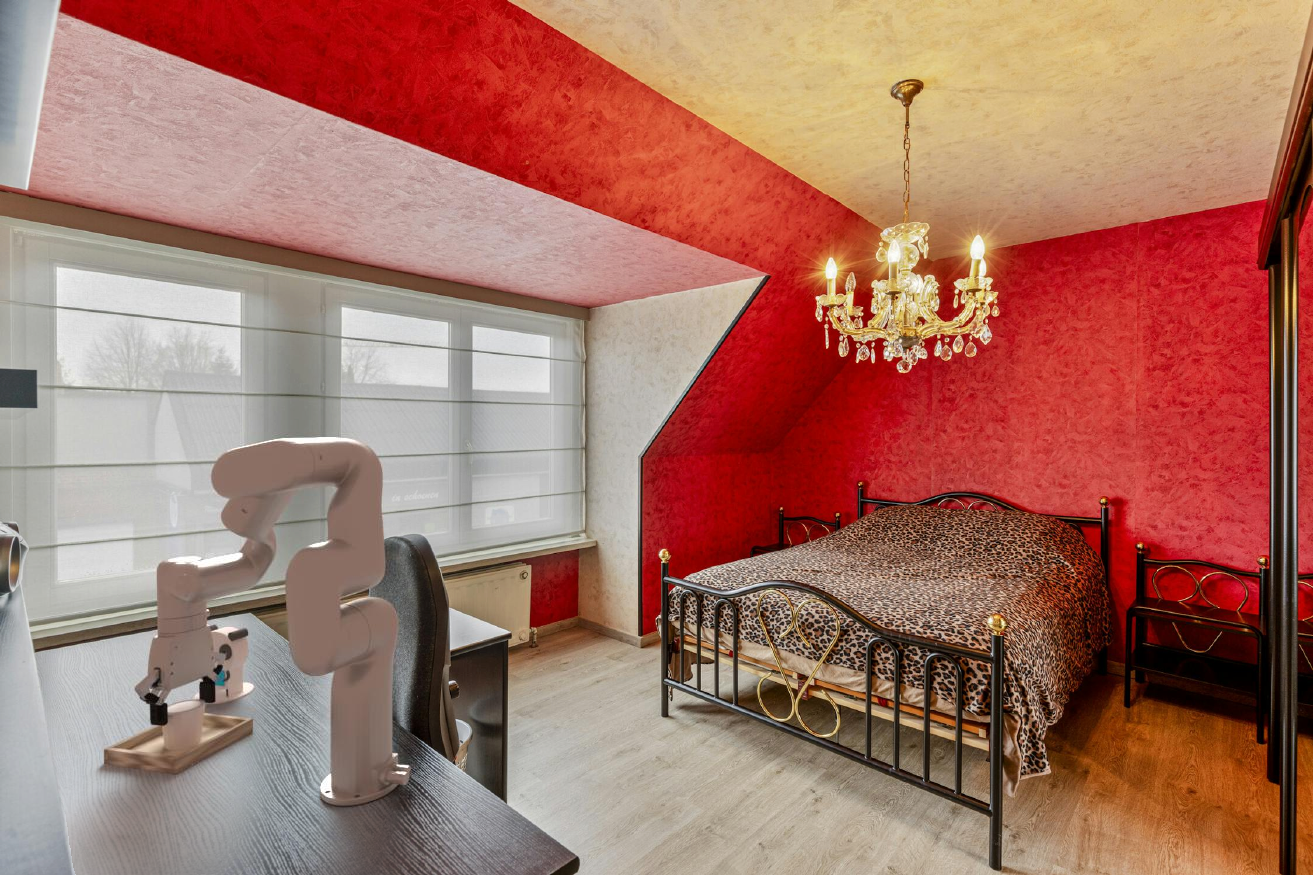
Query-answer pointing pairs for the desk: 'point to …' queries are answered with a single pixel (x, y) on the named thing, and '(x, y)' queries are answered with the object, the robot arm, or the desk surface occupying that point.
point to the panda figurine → (230, 663)
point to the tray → (153, 756)
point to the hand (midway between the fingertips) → (184, 712)
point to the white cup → (184, 724)
